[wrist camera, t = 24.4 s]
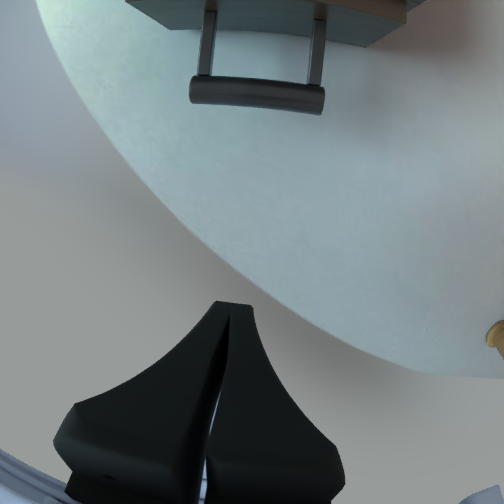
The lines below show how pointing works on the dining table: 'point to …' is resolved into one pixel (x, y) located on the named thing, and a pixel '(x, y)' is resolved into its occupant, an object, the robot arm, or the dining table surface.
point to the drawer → (279, 21)
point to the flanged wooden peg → (496, 337)
